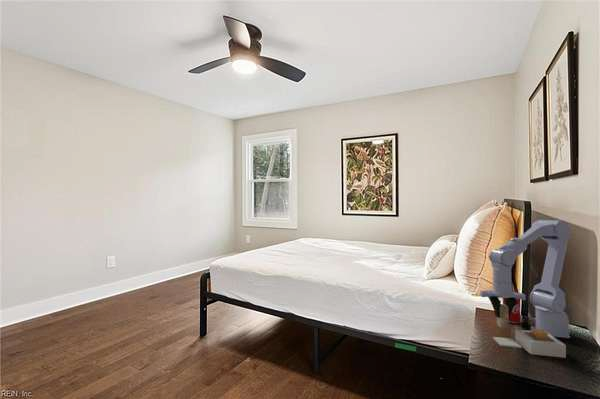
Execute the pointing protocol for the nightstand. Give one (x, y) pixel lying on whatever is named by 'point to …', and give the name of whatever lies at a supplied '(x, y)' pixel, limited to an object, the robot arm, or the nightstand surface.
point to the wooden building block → (503, 317)
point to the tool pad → (507, 342)
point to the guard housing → (540, 344)
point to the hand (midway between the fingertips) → (502, 317)
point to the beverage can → (515, 312)
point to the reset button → (539, 333)
